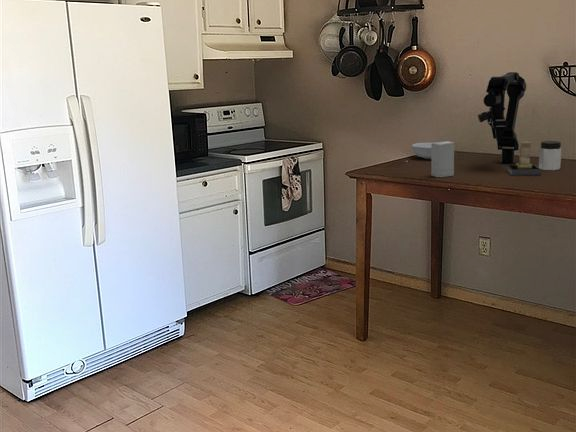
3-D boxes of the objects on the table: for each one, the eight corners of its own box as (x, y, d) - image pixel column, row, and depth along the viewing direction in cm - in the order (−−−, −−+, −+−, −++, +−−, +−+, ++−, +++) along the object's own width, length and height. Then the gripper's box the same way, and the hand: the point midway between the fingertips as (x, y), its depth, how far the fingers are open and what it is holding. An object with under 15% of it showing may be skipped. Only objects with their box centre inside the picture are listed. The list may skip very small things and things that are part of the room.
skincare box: (446, 174, 284) (447, 140, 280) (454, 176, 278) (455, 142, 275) (430, 175, 281) (430, 142, 278) (438, 178, 276) (438, 143, 272)
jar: (551, 171, 281) (552, 144, 278) (535, 168, 288) (536, 142, 285) (563, 168, 286) (565, 141, 283) (547, 166, 292) (549, 140, 289)
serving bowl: (457, 160, 318) (458, 146, 316) (415, 162, 318) (415, 148, 317) (448, 154, 338) (448, 141, 336) (408, 155, 338) (408, 142, 337)
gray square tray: (506, 170, 286) (507, 161, 285) (534, 170, 284) (535, 161, 283) (511, 175, 274) (512, 166, 273) (541, 175, 272) (541, 166, 271)
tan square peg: (518, 171, 281) (519, 141, 278) (526, 171, 281) (528, 141, 277) (520, 172, 277) (522, 142, 274) (528, 172, 277) (530, 142, 274)
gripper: (476, 104, 296) (475, 137, 300) (481, 107, 279) (480, 143, 282) (501, 103, 295) (499, 137, 298) (508, 106, 277) (506, 142, 281)
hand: (496, 139), depth 290 cm, fingers open, 9 cm apart
